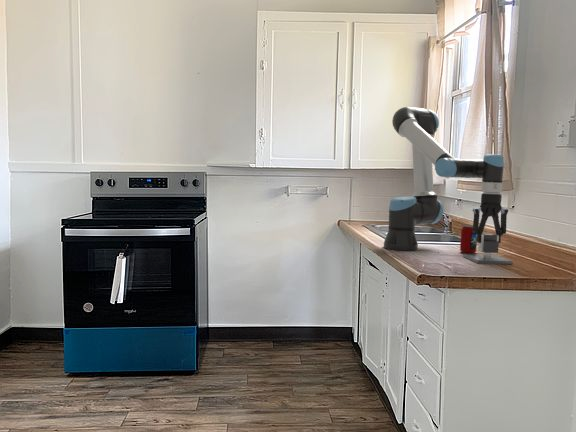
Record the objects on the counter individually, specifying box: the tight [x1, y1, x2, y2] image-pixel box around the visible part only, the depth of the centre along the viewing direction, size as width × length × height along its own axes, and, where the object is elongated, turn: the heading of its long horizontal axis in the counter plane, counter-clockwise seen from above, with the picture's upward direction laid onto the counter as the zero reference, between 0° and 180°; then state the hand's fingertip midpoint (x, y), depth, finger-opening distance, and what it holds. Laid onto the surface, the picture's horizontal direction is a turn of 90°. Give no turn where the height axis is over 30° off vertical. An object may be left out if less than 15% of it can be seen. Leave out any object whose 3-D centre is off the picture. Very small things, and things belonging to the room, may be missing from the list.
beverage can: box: [459, 224, 478, 254], centre depth 221 cm, size 7×7×12 cm
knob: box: [480, 233, 500, 254], centre depth 202 cm, size 5×5×7 cm
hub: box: [462, 252, 514, 265], centre depth 203 cm, size 14×14×5 cm
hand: (488, 250), depth 203 cm, fingers closed on knob, 5 cm apart
